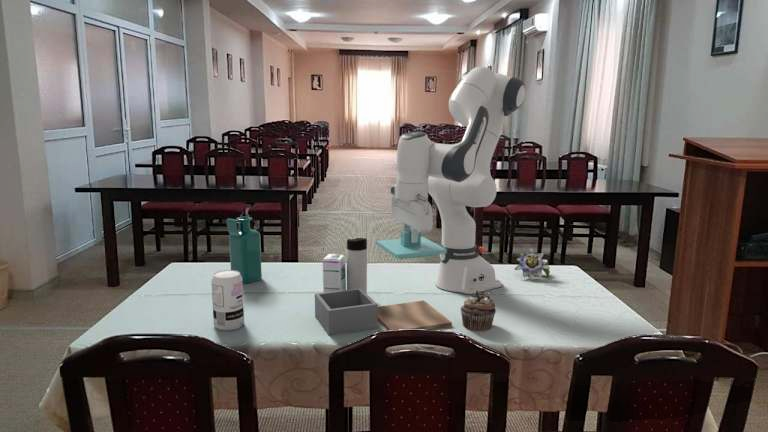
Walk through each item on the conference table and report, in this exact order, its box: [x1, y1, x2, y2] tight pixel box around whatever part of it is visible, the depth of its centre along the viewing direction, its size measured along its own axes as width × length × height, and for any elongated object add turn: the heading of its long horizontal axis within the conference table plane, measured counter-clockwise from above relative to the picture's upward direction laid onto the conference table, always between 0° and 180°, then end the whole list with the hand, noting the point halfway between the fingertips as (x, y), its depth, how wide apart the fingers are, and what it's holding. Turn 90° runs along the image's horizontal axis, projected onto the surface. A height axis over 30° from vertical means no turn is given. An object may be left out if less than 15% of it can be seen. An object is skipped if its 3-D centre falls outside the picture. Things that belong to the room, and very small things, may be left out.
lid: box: [375, 230, 447, 260], centre depth 161 cm, size 15×15×6 cm
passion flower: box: [514, 247, 551, 281], centre depth 205 cm, size 11×11×12 cm
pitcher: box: [225, 216, 263, 285], centre depth 196 cm, size 10×8×22 cm
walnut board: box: [377, 300, 453, 331], centre depth 166 cm, size 18×18×1 cm
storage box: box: [314, 288, 379, 336], centre depth 163 cm, size 14×14×7 cm
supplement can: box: [210, 269, 245, 331], centre depth 159 cm, size 8×8×15 cm
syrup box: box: [322, 253, 347, 293], centre depth 178 cm, size 6×6×14 cm
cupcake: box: [460, 291, 497, 332], centre depth 161 cm, size 10×10×10 cm
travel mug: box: [346, 237, 368, 295], centre depth 179 cm, size 6×7×20 cm
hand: (410, 240), depth 161 cm, fingers closed on lid, 2 cm apart
